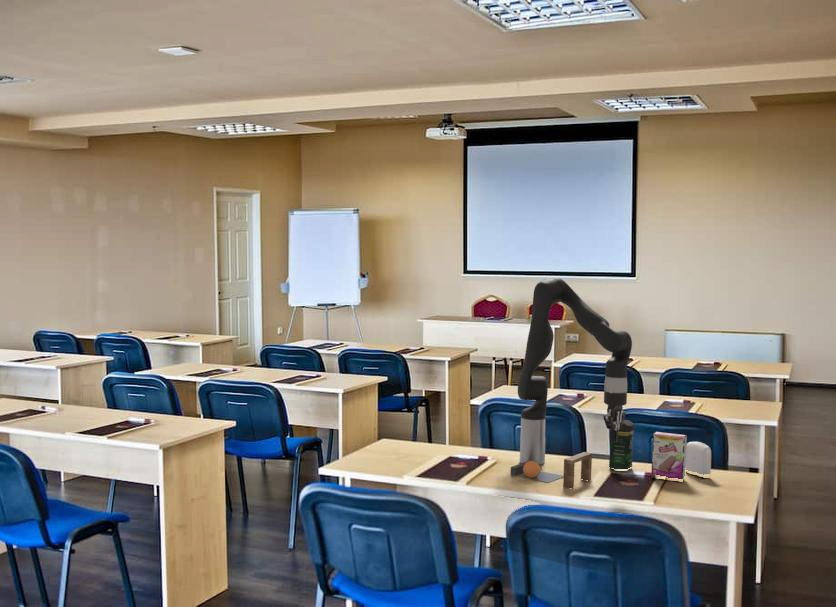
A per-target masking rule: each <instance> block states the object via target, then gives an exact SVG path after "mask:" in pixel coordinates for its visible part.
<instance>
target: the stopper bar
mask: <svg viewBox="0 0 836 607" xmlns="http://www.w3.org/2000/svg"><path fill="white" fill-rule="evenodd" d="M527 462H529V461H527ZM527 462H524V463H518V464H515V465H512V466H510V474H509V475H510V476H513V477H517V476H521V475H524V472H523V467H524V465H525V464H526V463H527Z"/></svg>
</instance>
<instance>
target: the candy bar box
mask: <svg viewBox="0 0 836 607" xmlns="http://www.w3.org/2000/svg"><path fill="white" fill-rule="evenodd" d="M687 438H688V436H687V434H686V435H685V434H680V433H679V434H678V433H669V432H662V431H661V432H660V431H655V432H653V434H652V456H651V473H652V474H656V475H660V476H666V477H668V478H678V479H683V478H684V476H686V473H685V459H686V445H687V440H688V439H687Z"/></svg>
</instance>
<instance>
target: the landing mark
mask: <svg viewBox="0 0 836 607" xmlns="http://www.w3.org/2000/svg"><path fill="white" fill-rule="evenodd" d="M563 476H564V474H563V475H562V474H557V473H552V472H546V471H542V470H540V473H539V475H538V476H537V477H535V478H529V477H527V476H526V475H525V474H524V473H523V474H520V475H518V478H522V479H528V480H533V481H537V482H543V483H547V484H550V483H552V482H555V481H557V480H559V478H560V479H563V478H562V477H563Z"/></svg>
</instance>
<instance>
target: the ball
mask: <svg viewBox="0 0 836 607" xmlns="http://www.w3.org/2000/svg"><path fill="white" fill-rule="evenodd" d="M540 466H541V465H538V464H537V463H536V462H534V461H529V462H527V463H526V464H525V465H524V467H523V472H524V473H523V475H524V474H525V475H526V476H527V477H529V478H535V477H537V476H538V475H539V473H540V471H541V467H540Z"/></svg>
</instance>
